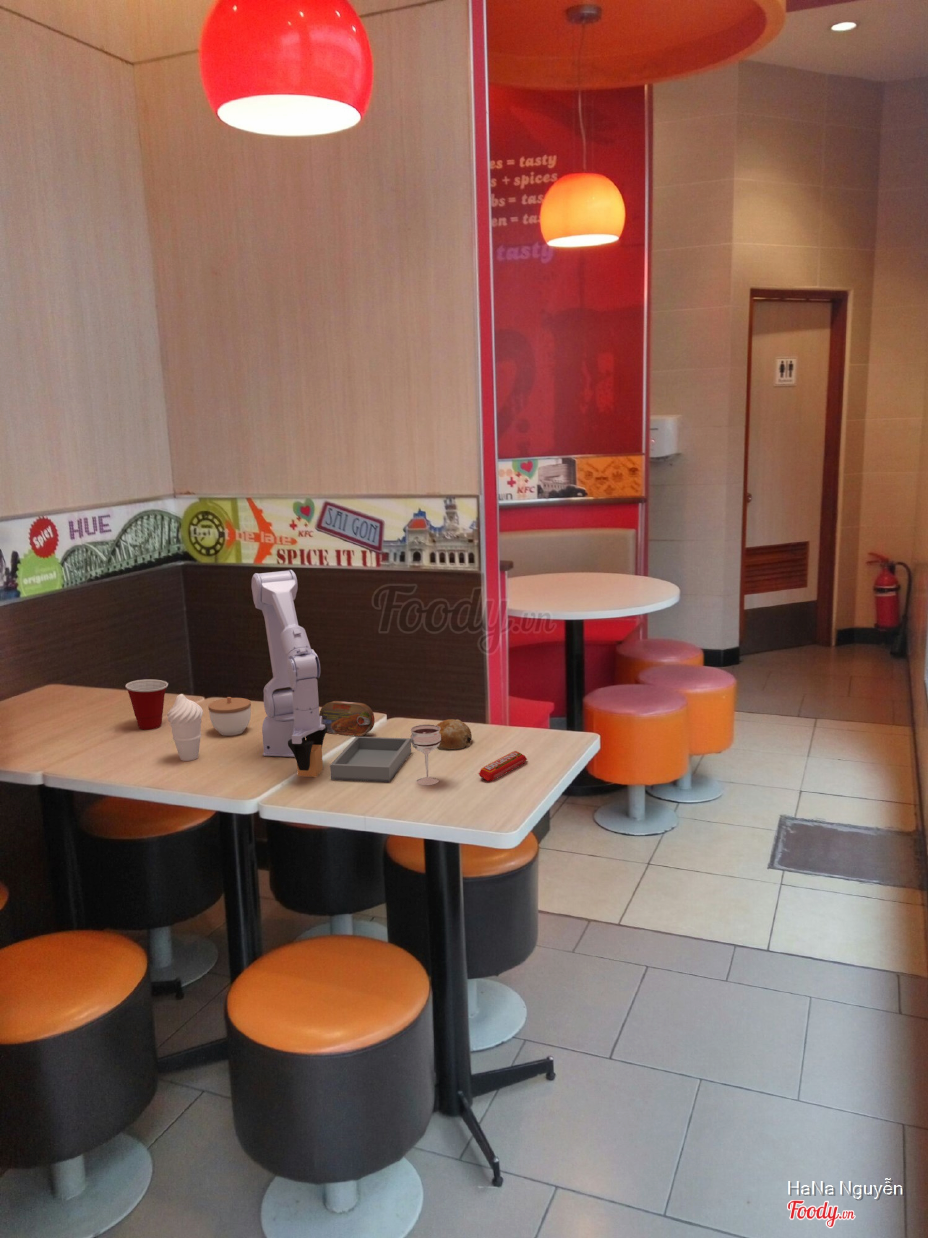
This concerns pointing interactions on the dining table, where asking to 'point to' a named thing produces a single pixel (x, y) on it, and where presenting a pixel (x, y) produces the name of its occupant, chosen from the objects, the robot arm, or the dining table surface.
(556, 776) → the dining table surface
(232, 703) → the lidded jar
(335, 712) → the tin
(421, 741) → the wineglass
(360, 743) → the serving tray
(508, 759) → the candy bar
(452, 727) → the bread roll
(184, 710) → the soft serve ice cream cone
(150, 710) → the plastic cup
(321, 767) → the orange block
